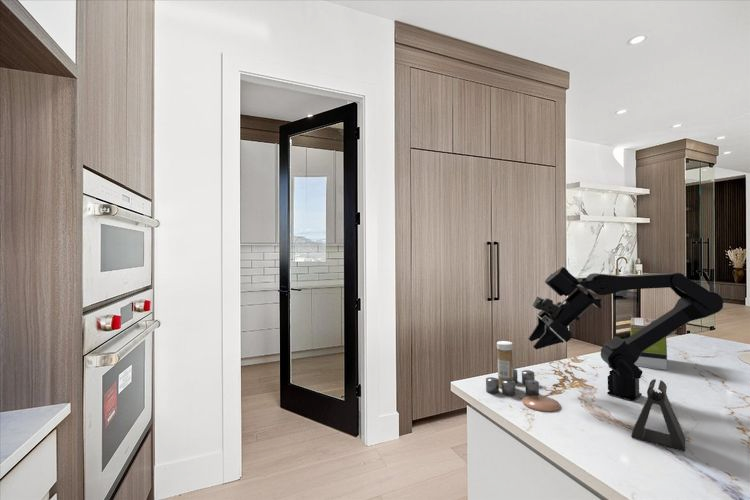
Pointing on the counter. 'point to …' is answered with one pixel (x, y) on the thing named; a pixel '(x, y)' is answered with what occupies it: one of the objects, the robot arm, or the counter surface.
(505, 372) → the sprinkles bottle
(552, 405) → the coaster
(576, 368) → the counter surface
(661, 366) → the tea box
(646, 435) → the phone stand
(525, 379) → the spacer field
